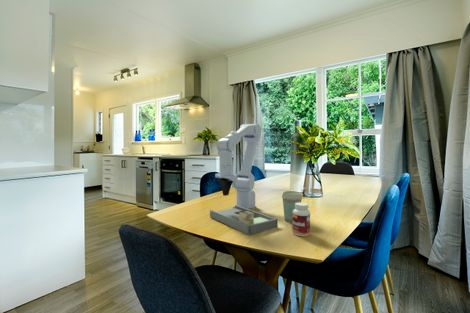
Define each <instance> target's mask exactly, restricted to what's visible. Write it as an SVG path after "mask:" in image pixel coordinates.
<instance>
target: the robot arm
mask: <svg viewBox="0 0 470 313" xmlns="http://www.w3.org/2000/svg"><path fill="white" fill-rule="evenodd" d="M261 127H262V126H261V125H260V123H246V124H245V123H242V124H241V125H240V126H239V129H238V130H236V131H234V130H233V131H230V133H229V134H227V135H226V136H224V138H220V139H219V140H217V143H216V149H217V152H218V156H219V162H218V163H219V164H218V165H219V172H218V173H215V174H214V176H215V178H216V179H218V180H217V181H218V183H219V186H220V188H221V191H222V195H223V196H229V195H230V190H231V188H232V185H233V188H234V190H235V191H236V205H237V206H240V207H243V208H246V209H249V210H251V209H255V208H257V206H256V192H255V191H254V190H253V189H254V188H255V179H256V178H255V176H254V174H253V173H252V168H253V164H254V158H255V156H256V155H255V154H256V150H257V145H258V142H259V141H260V138H261V135H262V128H261ZM241 140H243V141H244V142H246V147H245V152H244V155H243V160H242V164H241V168H240V170H239V171H238V172H236V173H235V174H233V151H235V147H236V146H237V144H238V143H240V142H241ZM232 208H235V205H233V206H232Z"/></svg>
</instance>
